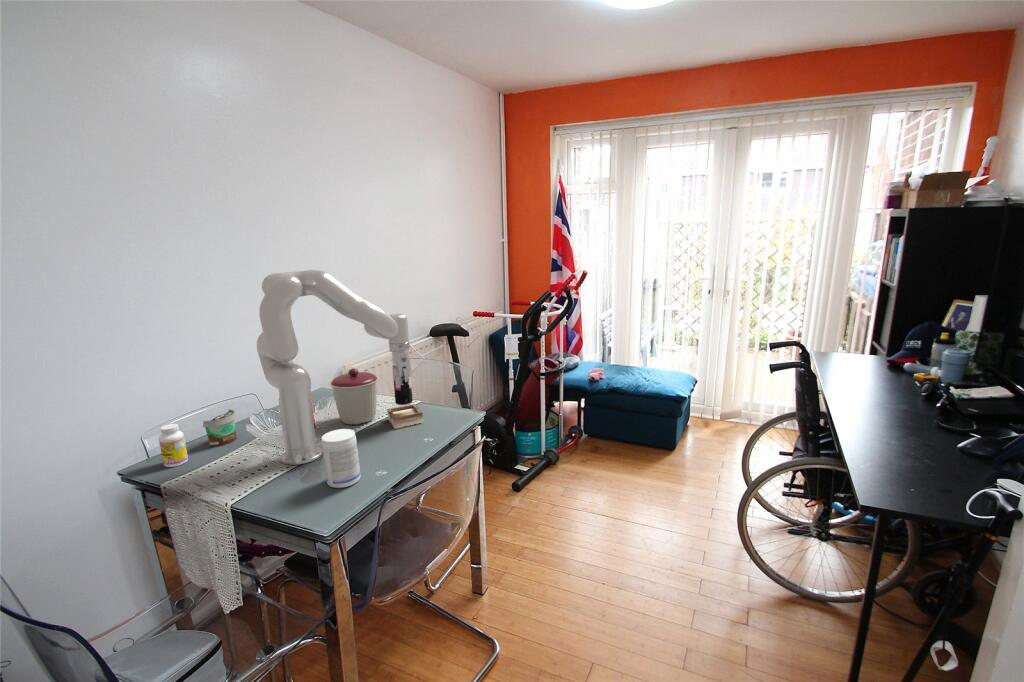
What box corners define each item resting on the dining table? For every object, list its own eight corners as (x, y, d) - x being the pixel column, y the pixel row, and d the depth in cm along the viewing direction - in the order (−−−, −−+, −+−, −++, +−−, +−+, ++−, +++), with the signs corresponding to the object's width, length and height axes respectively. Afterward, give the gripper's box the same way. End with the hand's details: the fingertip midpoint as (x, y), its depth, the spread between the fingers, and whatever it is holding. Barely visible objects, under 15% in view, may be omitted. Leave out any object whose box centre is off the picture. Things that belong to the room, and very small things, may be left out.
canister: (386, 410, 196) (381, 361, 192) (376, 427, 179) (371, 374, 174) (341, 412, 195) (336, 363, 191) (328, 430, 178) (321, 376, 173)
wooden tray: (423, 423, 182) (422, 412, 181) (394, 428, 177) (393, 418, 176) (415, 413, 192) (414, 404, 191) (388, 419, 187) (387, 409, 186)
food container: (222, 449, 164) (217, 422, 161) (207, 448, 165) (202, 421, 163) (248, 435, 175) (244, 409, 173) (233, 434, 177) (229, 408, 174)
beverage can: (393, 406, 180) (390, 368, 177) (397, 400, 186) (394, 363, 183) (410, 405, 180) (407, 367, 176) (414, 399, 186) (411, 363, 183)
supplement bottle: (159, 466, 153) (151, 429, 150) (179, 457, 159) (172, 421, 156) (173, 469, 150) (165, 431, 147) (193, 460, 156) (186, 423, 154)
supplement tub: (367, 476, 142) (363, 431, 139) (344, 492, 134) (339, 444, 131) (343, 470, 146) (338, 426, 143) (319, 485, 138) (313, 438, 135)
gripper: (415, 349, 172) (419, 396, 176) (403, 341, 187) (407, 384, 191) (394, 352, 169) (399, 400, 173) (384, 343, 184) (388, 387, 188)
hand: (403, 391), depth 182 cm, fingers closed on beverage can, 6 cm apart
